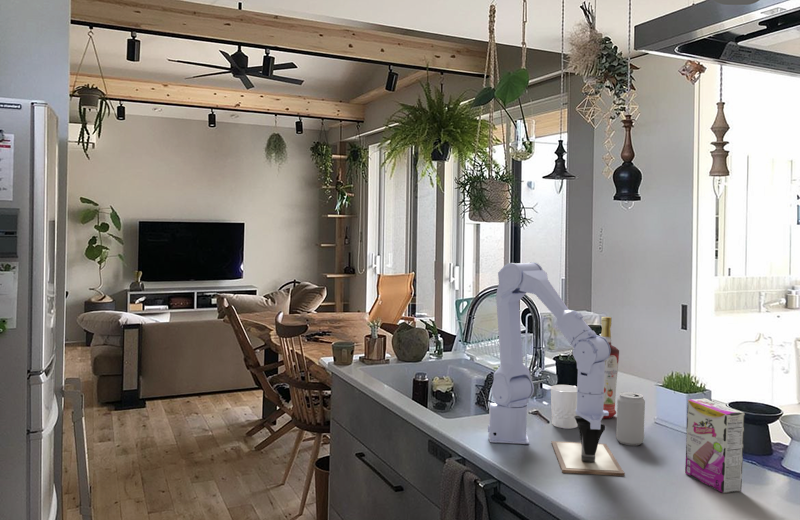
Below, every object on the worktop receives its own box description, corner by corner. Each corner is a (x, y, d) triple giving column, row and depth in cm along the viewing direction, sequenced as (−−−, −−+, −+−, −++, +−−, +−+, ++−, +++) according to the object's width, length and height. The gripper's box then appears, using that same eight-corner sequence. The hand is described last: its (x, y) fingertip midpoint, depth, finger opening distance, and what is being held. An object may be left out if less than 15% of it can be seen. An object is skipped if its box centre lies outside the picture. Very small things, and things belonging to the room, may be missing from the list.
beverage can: (645, 447, 157) (647, 398, 156) (617, 445, 158) (619, 396, 158) (641, 439, 163) (642, 392, 163) (614, 437, 165) (616, 390, 164)
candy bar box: (683, 474, 140) (686, 398, 140) (702, 471, 142) (705, 397, 141) (722, 494, 130) (725, 413, 129) (742, 492, 131) (746, 411, 130)
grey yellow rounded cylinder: (582, 462, 144) (583, 430, 144) (580, 457, 147) (581, 426, 146) (596, 462, 144) (597, 431, 143) (593, 458, 147) (594, 427, 146)
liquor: (598, 420, 178) (601, 319, 177) (584, 413, 186) (587, 315, 184) (622, 419, 180) (625, 318, 179) (607, 412, 187) (611, 315, 186)
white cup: (578, 421, 177) (579, 385, 177) (581, 430, 170) (582, 392, 169) (549, 419, 179) (550, 383, 178) (550, 428, 171) (551, 390, 171)
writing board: (562, 472, 140) (562, 469, 140) (551, 443, 159) (551, 440, 159) (624, 475, 139) (624, 472, 139) (606, 446, 158) (606, 443, 157)
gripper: (616, 400, 137) (614, 464, 137) (602, 384, 151) (600, 441, 152) (581, 399, 138) (579, 462, 138) (571, 383, 152) (569, 440, 153)
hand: (588, 451), depth 145 cm, fingers closed on grey yellow rounded cylinder, 3 cm apart
